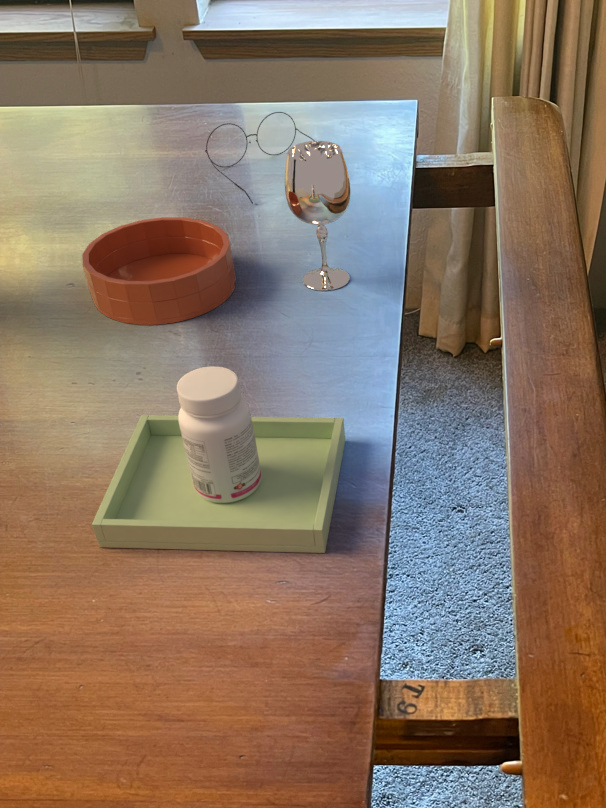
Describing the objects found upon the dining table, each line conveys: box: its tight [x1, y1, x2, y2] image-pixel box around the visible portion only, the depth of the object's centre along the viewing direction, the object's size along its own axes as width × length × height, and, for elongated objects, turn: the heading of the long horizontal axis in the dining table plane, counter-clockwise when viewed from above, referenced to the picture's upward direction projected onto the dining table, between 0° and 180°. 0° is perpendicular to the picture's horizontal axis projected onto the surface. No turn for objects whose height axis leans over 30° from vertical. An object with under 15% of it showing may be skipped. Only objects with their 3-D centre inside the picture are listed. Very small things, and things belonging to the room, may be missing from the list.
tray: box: [91, 414, 346, 554], centre depth 66 cm, size 15×12×2 cm
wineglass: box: [284, 140, 352, 292], centre depth 85 cm, size 6×6×12 cm
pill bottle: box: [176, 365, 261, 503], centre depth 64 cm, size 5×5×8 cm
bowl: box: [81, 216, 237, 326], centre depth 88 cm, size 13×13×4 cm
